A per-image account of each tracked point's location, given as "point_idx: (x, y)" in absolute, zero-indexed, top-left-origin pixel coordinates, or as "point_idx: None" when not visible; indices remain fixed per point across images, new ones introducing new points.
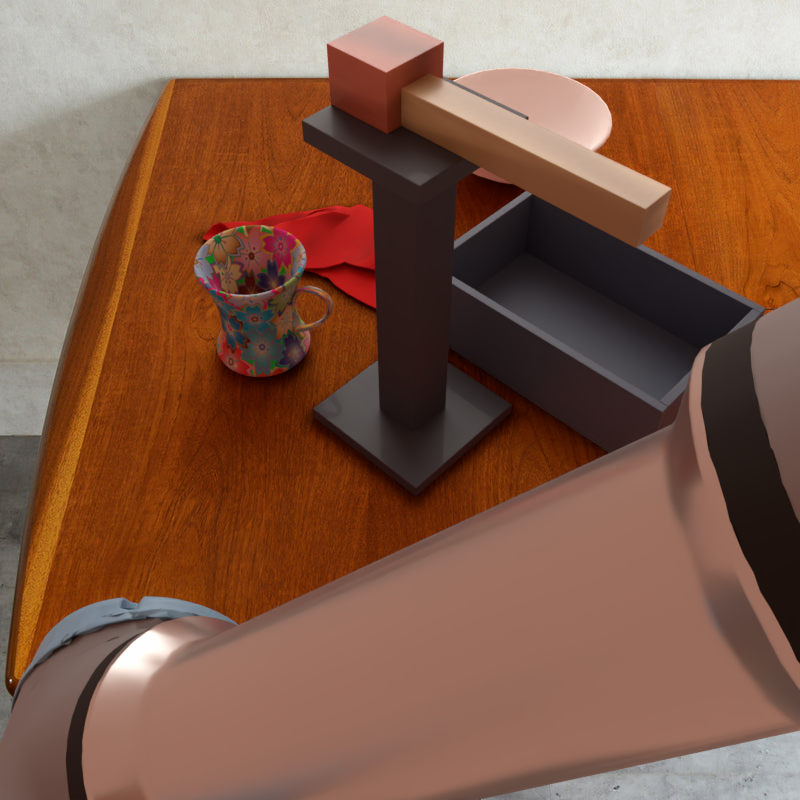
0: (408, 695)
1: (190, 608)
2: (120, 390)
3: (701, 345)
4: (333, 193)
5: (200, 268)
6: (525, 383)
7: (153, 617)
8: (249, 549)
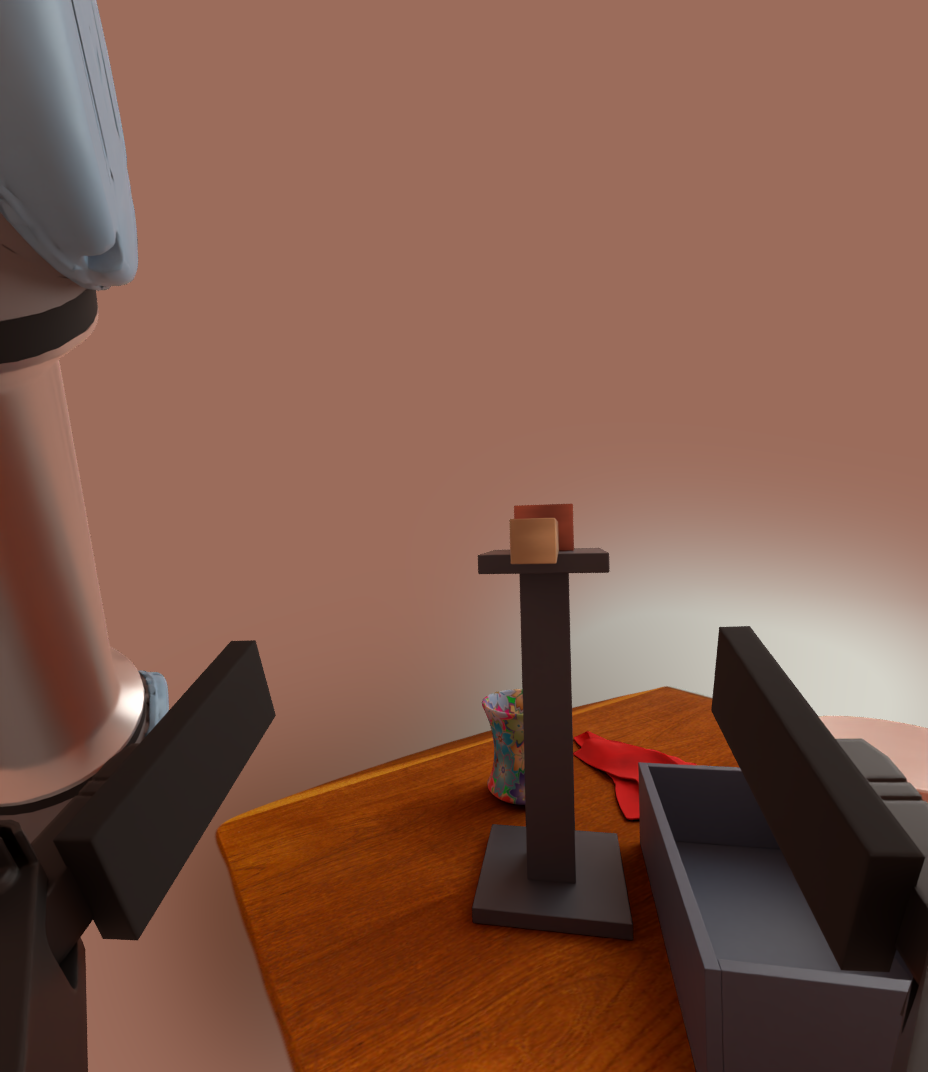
0: None
1: (160, 690)
2: (434, 766)
3: None
4: (689, 756)
5: (496, 696)
6: (663, 916)
7: (145, 678)
8: (352, 863)
